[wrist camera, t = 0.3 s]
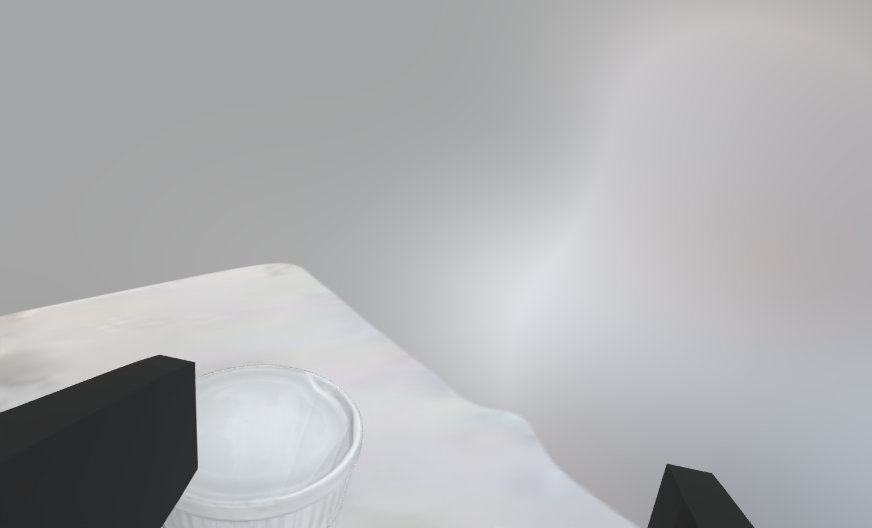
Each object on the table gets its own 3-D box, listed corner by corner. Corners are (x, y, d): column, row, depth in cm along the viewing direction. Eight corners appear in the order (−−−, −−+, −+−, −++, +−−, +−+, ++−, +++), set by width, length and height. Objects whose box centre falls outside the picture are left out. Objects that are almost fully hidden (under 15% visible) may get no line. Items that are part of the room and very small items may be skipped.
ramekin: (396, 528, 35) (402, 452, 33) (181, 630, 29) (171, 544, 26) (306, 413, 43) (307, 345, 41) (124, 472, 37) (113, 396, 34)
